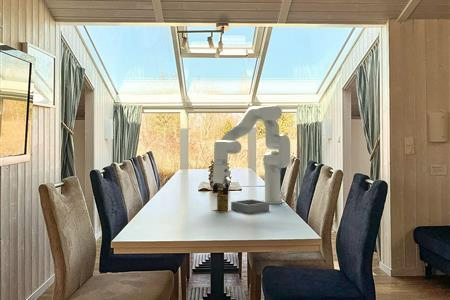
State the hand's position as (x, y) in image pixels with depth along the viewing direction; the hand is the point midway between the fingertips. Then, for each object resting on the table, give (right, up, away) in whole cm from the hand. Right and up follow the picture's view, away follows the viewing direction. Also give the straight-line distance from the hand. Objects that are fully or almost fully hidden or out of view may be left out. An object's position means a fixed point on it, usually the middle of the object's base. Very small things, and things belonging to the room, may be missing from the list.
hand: (220, 193), depth 224 cm
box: (+17, -9, +2) cm, 19 cm away
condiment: (0, -10, +1) cm, 10 cm away
